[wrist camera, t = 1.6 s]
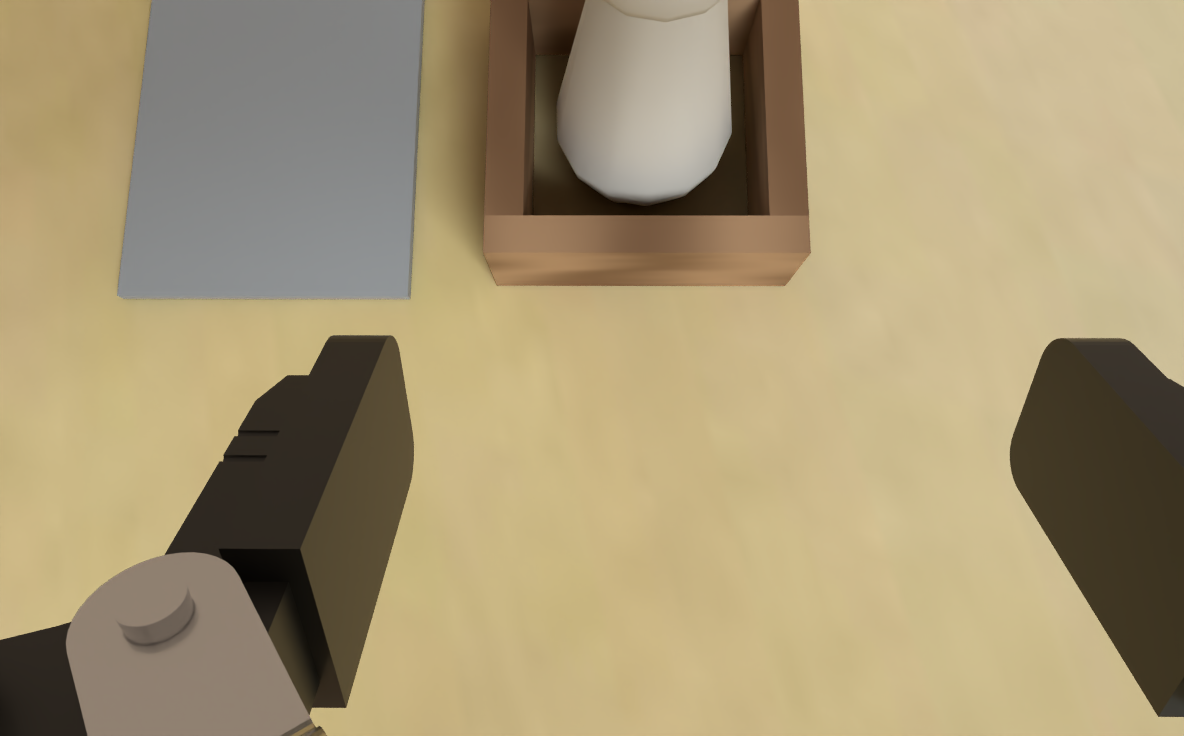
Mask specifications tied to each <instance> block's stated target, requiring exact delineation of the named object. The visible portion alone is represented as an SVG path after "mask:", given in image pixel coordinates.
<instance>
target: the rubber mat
mask: <svg viewBox="0 0 1184 736" xmlns="http://www.w3.org/2000/svg"><path fill="white" fill-rule="evenodd" d="M424 1H425V0H152V3H151V12H150V20H149V29H148V37H147V46H146V54H145V63H144V71H143V80H142V88H141V97H140V105H139V114H138V122H137V131H136V139H135V148H134V156H133V165H132V173H131V182H130V190H129V199H128V207H127V216H126V224H125V233H124V241H123V250H122V258H121V267H120V275H119V284H118V292H117V296H119V297H121V298H123V299H410V295H411V274H412V253H413V232H414V211H415V190H416V169H417V148H418V127H419V106H420V85H421V64H422V43H423V22H424Z"/></svg>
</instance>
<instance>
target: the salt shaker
mask: <svg viewBox="0 0 1184 736" xmlns="http://www.w3.org/2000/svg"><path fill="white" fill-rule="evenodd" d="M731 134H732V123H731V92H730V61H729V30H728V0H585V4H584V7H583V11H582V14H581V18H580V21H579V25H578V28H577V32H576V36H575V39H574V43H573V46H572V50H571V53H570V57H569V60H568V64H567V68H566V71H565V75H564V78H563V82H562V85H561V89H560V92H559V96H558V100H557V140H558V142H559V145H560V147H561V149H562V150H563V152H564V154H565V156H566V158H567V159H568V161H569V163H570V165H571V167H572V168H573V170H574V172H575V174H576V176H577V177H578V179H580V180H581V181H583V182H584V183H586V184H587V185H589V186H590V187H591V188H593V189H594V190H596V191H597V192H599V193H600V194H601V195H603V196H604V197H606V198H607V199H609V200H611V201H614V202H616V203H620V202H625V203H631V204H637V205H642V206H649V205H653V204H657V203H661V202H665V201H669V200H673V199H677V198H681V197H684V196H685V195H686V194H688V193H689V192H690V191H691V190H692V189H694V188H695V187H696V186H697V185H699V184H700V183H701V182H702V181H703V180H705V179H706V178H707V177H708V176H709V175H711V174H712V172H713V171H714V170H715V168H716V167H717V165H718V162H719V160H720V158H721V156H722V154H723V151H724V149H725V147H726V145H727V143H728V141H729V138H730V136H731Z"/></svg>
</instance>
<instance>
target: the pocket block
mask: <svg viewBox="0 0 1184 736" xmlns="http://www.w3.org/2000/svg"><path fill="white" fill-rule="evenodd" d="M584 4H585V0H491V8H490V40H489V73H488V106H487V139H486V172H485V204H484V237H483V254H484V256H485V258H486V261H487V263H488V265H489V268H490V270H491V272H492V275H493V277H494V279H495V282H496V284H497V285H536V286H785V285H786V284H787V283H788V281H789V280H790V279H791V278H792V276H793V275H794V274H795V272H796V271H797V270H798V269H799V267H800V266H801V265H802V263H803V262H804V261H805V260H806V258H807V257H808V256H809V254H810V253H811V250H810V229H809V209H808V188H807V167H806V147H805V126H804V105H803V85H802V64H801V44H800V23H799V2H798V0H728V30H729V55H743V80H744V110H745V140H746V169H747V199H748V216H661V215H533V178H534V125H535V71H536V55H570V53H571V50H572V46H573V43H574V39H575V36H576V32H577V28H578V25H579V21H580V18H581V14H582V11H583V7H584Z"/></svg>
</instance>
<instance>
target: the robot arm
mask: <svg viewBox="0 0 1184 736" xmlns="http://www.w3.org/2000/svg"><path fill="white" fill-rule="evenodd" d="M413 461H414V442H413V432H412V426H411V420H410V413H409V407H408V401H407V395H406V389H405V382H404V376H403V370H402V364H401V358H400V352H399V348H398V344H397V342H396V339H395V338H394V337H393V336H370V335H333V336H331V337H330V338H328V340H327V342H326V343H325V345H324V347H323V349H322V351H321V353H320V355H319V357H318V359H317V361H316V363H315V364H314V366H313V368H312V370H311V372H310V374H309V375H287V376H286V377H285V378H284V379H282V380H281V381H280V382H279V383H277V384H276V385H275V386H274V387H272V388H271V389H270V390H269V391H267V392H266V393H265V394H263V395H262V396H261V397H260V398H258V399H257V400H256V401H255V403H254V404H253V406H252V408H251V409H250V411H249V413H248V414H247V416H246V418H245V419H244V421H243V423H242V425H241V426H240V428H239V430H238V436H234V438H233V440H232V441H231V443H230V445H229V447H228V448H227V450H226V452H225V453H224V460H223V462H219V464H218V465H217V467H216V469H215V470H214V472H213V474H212V475H211V477H210V479H209V480H208V482H207V484H206V486H205V487H204V489H203V491H202V492H201V494H200V496H199V497H198V499H197V501H196V502H195V504H194V506H193V508H192V509H191V511H190V513H189V514H188V516H187V518H186V519H185V521H184V523H183V524H182V526H181V528H180V530H179V531H178V533H177V535H176V536H175V538H174V540H173V541H172V543H171V545H170V546H169V548H168V550H167V552H166V553H165V555H164V556H160V557H156V558H152V559H149V560H147V561H144V562H141V563H139V564H136V565H134V566H132V567H130V568H128V569H126V570H124V571H122V572H121V573H119V574H117V575H116V576H114V577H113V578H111V579H110V580H108V581H107V582H106V583H104V584H103V585H102V586H100V587H99V588H98V589H97V590H96V591H95V592H94V593H93V594H92V595H91V596H90V597H88V599H87V600H86V601H85V602H84V603H83V605H82V606H81V607H80V608H79V610H78V611H77V613H76V615H75V616H74V618H73V620H72V622H70V623H66V624H63V625H59V626H56V627H52V628H48V629H44V630H39V631H35V632H31V633H27V634H23V635H19V636H15V637H11V638H7V639H3V640H0V736H327V735H326V733H325V732H324V730H323V729H322V728H321V727H320V726H319V727H317V728H316V727H315V725H314V724H313V722H312V720H311V718H310V716H309V715H310V712H311V709H312V708H346V707H347V703H348V700H349V696H350V693H351V689H352V686H353V682H354V679H355V675H356V672H357V668H358V665H359V661H360V658H361V654H362V651H363V647H364V644H365V640H366V637H367V633H368V630H369V626H370V623H371V619H372V616H373V612H374V609H375V605H376V602H377V598H378V595H379V591H380V588H381V584H382V581H383V577H384V574H385V570H386V567H387V563H388V560H389V556H390V553H391V549H392V546H393V542H394V539H395V535H396V532H397V528H398V525H399V521H400V518H401V515H402V511H403V508H404V504H405V501H406V497H407V494H408V490H409V487H410V483H411V478H412V472H413ZM1010 465H1011V471H1012V475H1013V479H1014V481H1015V484H1016V486H1017V488H1018V490H1019V491H1020V493H1021V495H1022V496H1023V498H1024V499H1025V501H1026V503H1027V504H1028V506H1029V508H1030V509H1031V511H1032V512H1033V514H1034V516H1035V517H1036V519H1037V521H1038V522H1039V524H1040V525H1041V527H1042V529H1043V530H1044V532H1045V534H1046V535H1047V537H1048V538H1049V540H1050V542H1051V543H1052V545H1053V546H1054V548H1055V550H1056V551H1057V553H1058V555H1059V556H1060V558H1061V559H1062V561H1063V563H1064V564H1065V566H1066V568H1067V569H1068V571H1069V572H1070V574H1071V576H1072V577H1073V579H1074V581H1075V582H1076V584H1077V585H1078V587H1079V589H1080V590H1081V592H1082V594H1083V595H1084V597H1085V598H1086V600H1087V602H1088V603H1089V605H1090V607H1091V608H1092V610H1093V611H1094V613H1095V615H1096V616H1097V618H1098V620H1099V621H1100V623H1101V624H1102V626H1103V628H1104V629H1105V631H1106V633H1107V634H1108V636H1109V637H1110V639H1111V641H1112V642H1113V644H1114V646H1115V647H1116V649H1117V650H1118V652H1119V654H1120V655H1121V657H1122V659H1123V660H1124V662H1125V663H1126V665H1127V667H1128V668H1129V670H1130V672H1131V673H1132V675H1133V676H1134V678H1135V680H1136V681H1137V683H1138V685H1139V686H1140V688H1141V689H1142V691H1143V693H1144V694H1145V696H1146V698H1147V699H1148V701H1149V702H1150V704H1151V706H1152V707H1153V709H1154V710H1155V712H1156V714H1157V715H1158V717H1184V387H1182V386H1181V385H1179V384H1177V383H1176V382H1174V381H1172V380H1171V379H1168V378H1167V377H1166V376H1165V375H1164V374H1163V373H1162V372H1161V371H1160V370H1159V369H1158V368H1157V367H1156V366H1155V365H1154V364H1153V363H1152V362H1151V361H1150V360H1149V359H1148V358H1147V357H1146V356H1145V355H1144V354H1143V353H1142V352H1141V351H1140V350H1139V349H1138V348H1137V347H1136V346H1135V345H1134V344H1132V343H1131V342H1130V341H1128V340H1126V339H1121V338H1060V339H1056V340H1054V341H1052V342H1051V343H1050V344H1049V345H1048V346H1047V347H1046V349H1045V350H1044V352H1043V355H1042V357H1041V359H1040V362H1039V365H1038V368H1037V370H1036V373H1035V376H1034V379H1033V382H1032V384H1031V387H1030V390H1029V393H1028V395H1027V398H1026V401H1025V404H1024V406H1023V409H1022V412H1021V415H1020V417H1019V420H1018V423H1017V426H1016V428H1015V431H1014V434H1013V437H1012V441H1011V447H1010Z"/></svg>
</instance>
